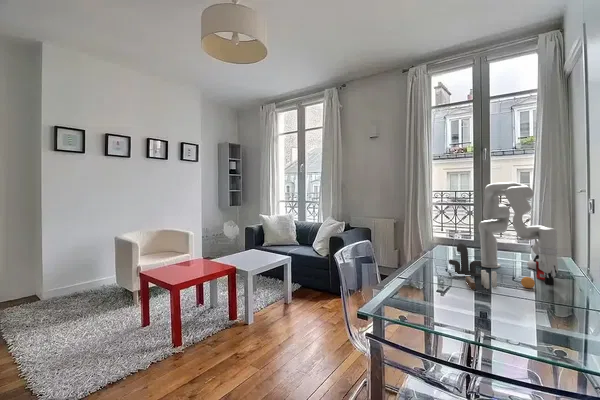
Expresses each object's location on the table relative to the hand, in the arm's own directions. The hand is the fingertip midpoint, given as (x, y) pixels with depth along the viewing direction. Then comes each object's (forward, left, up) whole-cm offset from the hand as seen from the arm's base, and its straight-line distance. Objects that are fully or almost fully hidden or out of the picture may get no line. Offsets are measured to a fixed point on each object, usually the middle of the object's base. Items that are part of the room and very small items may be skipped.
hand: (549, 284), depth 157 cm
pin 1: (-3, -30, -2) cm, 30 cm away
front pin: (0, -26, -2) cm, 26 cm away
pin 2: (+2, -30, -2) cm, 30 cm away
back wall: (0, -38, -2) cm, 38 cm away
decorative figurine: (-38, +12, -3) cm, 40 cm away
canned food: (-17, +5, -3) cm, 18 cm away
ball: (0, -10, +1) cm, 10 cm away
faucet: (-25, -36, -3) cm, 44 cm away
